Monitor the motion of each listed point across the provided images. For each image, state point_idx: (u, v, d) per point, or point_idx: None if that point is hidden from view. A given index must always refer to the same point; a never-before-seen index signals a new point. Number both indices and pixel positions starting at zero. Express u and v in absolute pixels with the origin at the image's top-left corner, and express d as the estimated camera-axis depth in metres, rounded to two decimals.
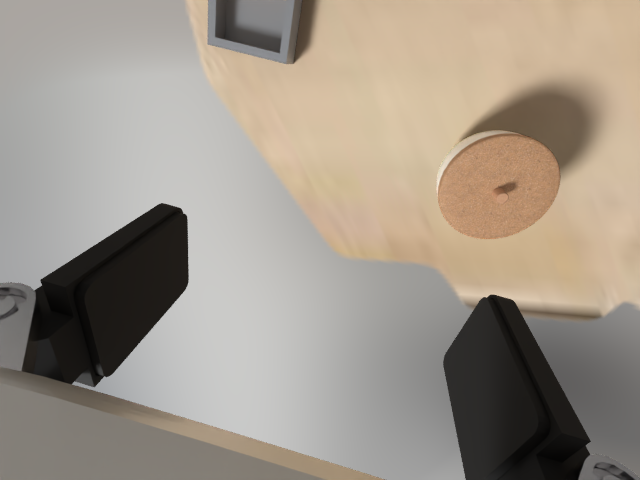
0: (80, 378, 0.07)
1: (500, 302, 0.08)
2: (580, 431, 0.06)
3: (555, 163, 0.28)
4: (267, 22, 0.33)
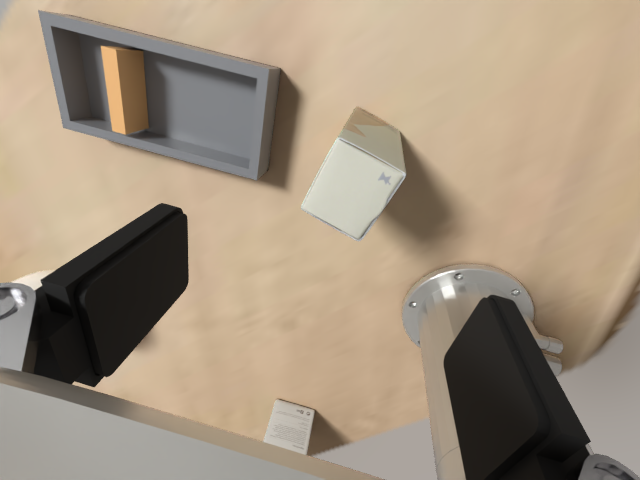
0: (79, 378, 0.07)
1: (500, 302, 0.08)
2: (580, 431, 0.06)
3: None
4: None
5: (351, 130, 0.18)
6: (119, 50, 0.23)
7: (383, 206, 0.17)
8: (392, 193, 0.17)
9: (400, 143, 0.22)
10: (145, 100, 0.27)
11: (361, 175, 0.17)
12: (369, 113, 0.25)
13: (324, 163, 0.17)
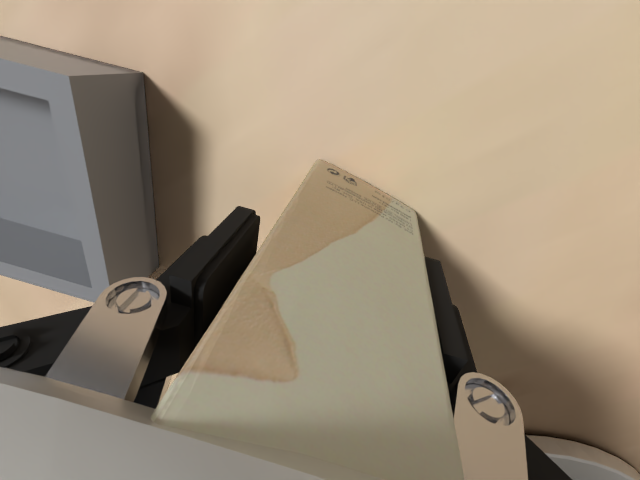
0: None
1: (426, 261, 0.09)
2: (461, 353, 0.06)
3: None
4: None
5: (228, 361, 0.04)
6: None
7: None
8: None
9: (426, 286, 0.08)
10: None
11: None
12: (347, 175, 0.11)
13: None
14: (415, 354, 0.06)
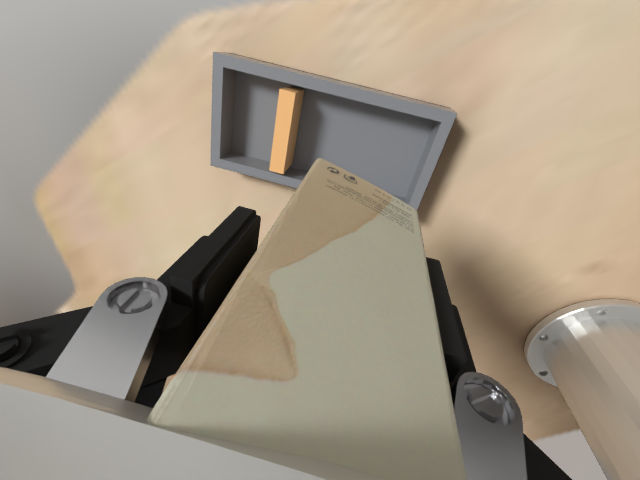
0: None
1: None
2: (460, 352, 0.06)
3: None
4: (258, 131, 0.27)
5: (227, 361, 0.04)
6: (296, 92, 0.23)
7: None
8: None
9: (427, 285, 0.08)
10: (296, 137, 0.27)
11: None
12: (347, 174, 0.11)
13: None
14: (416, 353, 0.06)
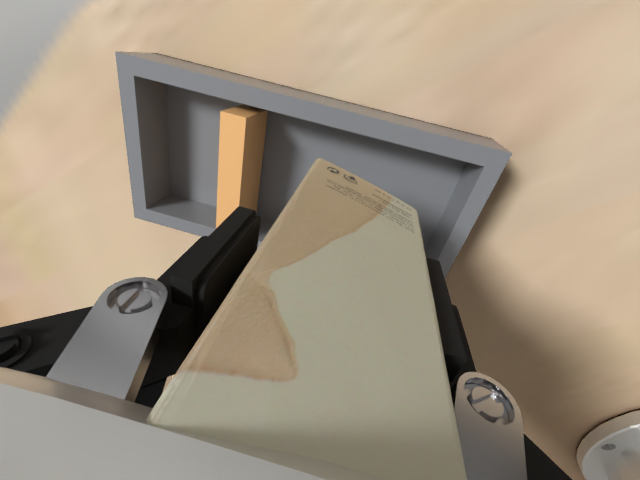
0: None
1: None
2: (460, 352, 0.06)
3: None
4: (206, 167, 0.19)
5: (226, 361, 0.04)
6: (248, 117, 0.14)
7: None
8: None
9: (427, 285, 0.08)
10: (259, 178, 0.18)
11: None
12: (347, 174, 0.11)
13: None
14: (416, 353, 0.06)
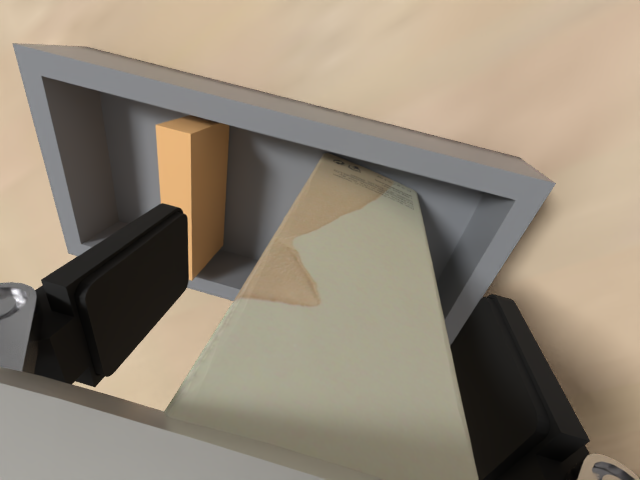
0: (80, 378, 0.07)
1: (500, 302, 0.08)
2: (579, 430, 0.06)
3: None
4: (158, 190, 0.15)
5: (268, 293, 0.05)
6: (195, 132, 0.10)
7: None
8: None
9: (425, 248, 0.09)
10: (223, 204, 0.14)
11: None
12: (351, 164, 0.12)
13: None
14: (415, 294, 0.07)
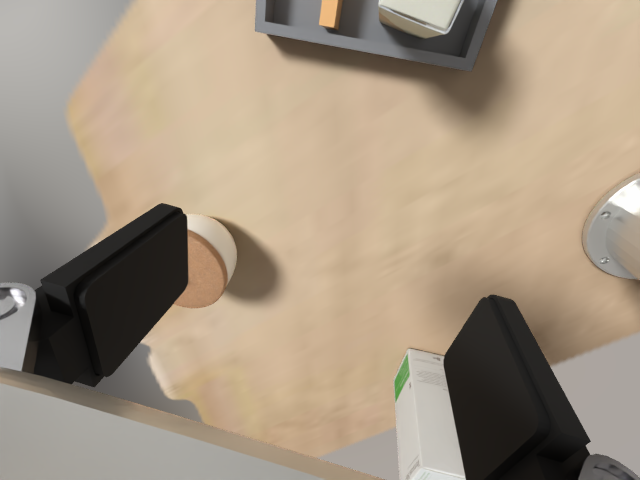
0: (79, 378, 0.07)
1: (500, 302, 0.08)
2: (580, 431, 0.06)
3: (211, 302, 0.36)
4: None
5: None
6: None
7: None
8: None
9: None
10: None
11: None
12: None
13: None
14: None
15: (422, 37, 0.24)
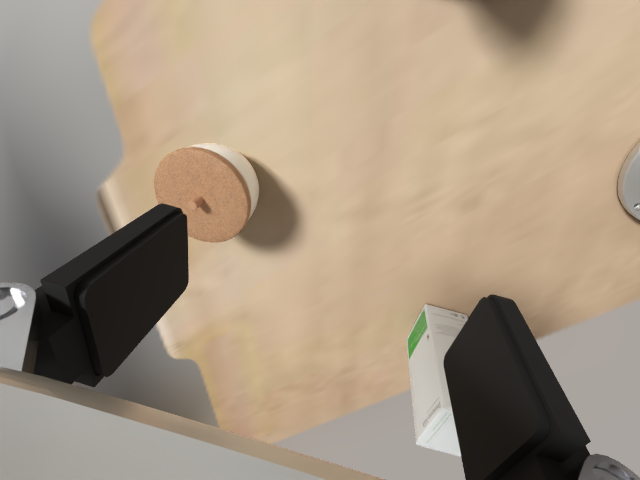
0: (79, 378, 0.07)
1: (500, 302, 0.08)
2: (580, 430, 0.06)
3: (232, 235, 0.35)
4: None
5: None
6: None
7: None
8: None
9: None
10: None
11: None
12: None
13: None
14: None
15: None
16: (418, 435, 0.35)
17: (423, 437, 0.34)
